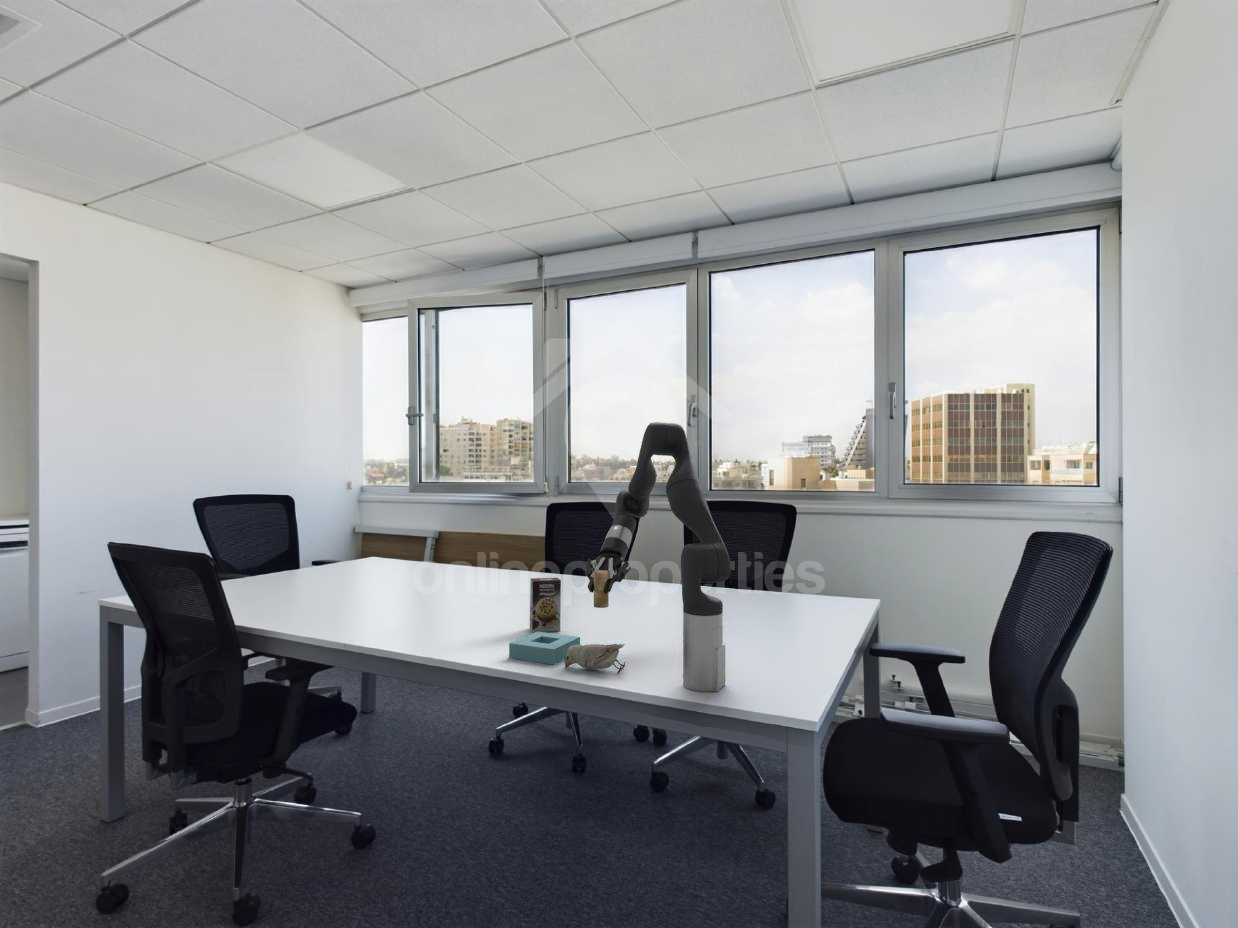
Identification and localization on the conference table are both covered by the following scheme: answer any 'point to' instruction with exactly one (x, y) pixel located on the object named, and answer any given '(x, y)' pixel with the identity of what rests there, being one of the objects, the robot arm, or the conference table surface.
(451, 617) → the conference table surface
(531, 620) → the coffee box
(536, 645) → the socket block
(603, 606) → the peg
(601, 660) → the decorative bird
